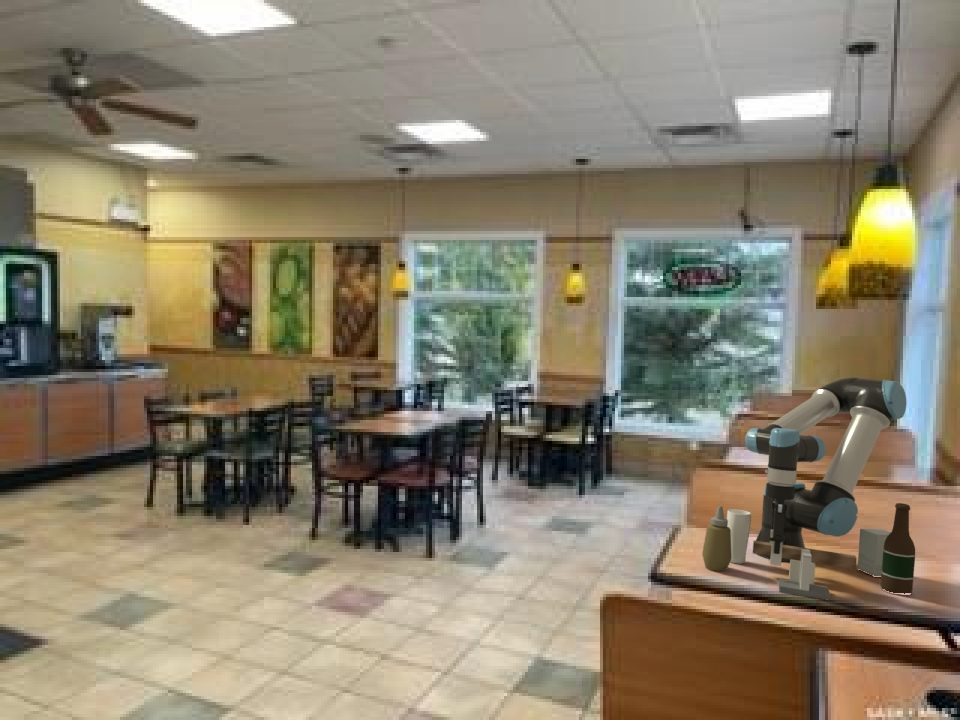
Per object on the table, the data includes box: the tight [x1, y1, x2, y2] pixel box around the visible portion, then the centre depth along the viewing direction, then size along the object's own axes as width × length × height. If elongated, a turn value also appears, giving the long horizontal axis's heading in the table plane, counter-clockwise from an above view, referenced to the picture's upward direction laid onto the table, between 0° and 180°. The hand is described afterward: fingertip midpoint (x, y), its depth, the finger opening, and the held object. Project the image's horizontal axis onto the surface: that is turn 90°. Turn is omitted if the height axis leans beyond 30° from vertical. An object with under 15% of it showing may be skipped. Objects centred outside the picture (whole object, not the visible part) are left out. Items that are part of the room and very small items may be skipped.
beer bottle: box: [880, 502, 916, 594], centre depth 194 cm, size 8×8×24 cm
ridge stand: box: [778, 548, 831, 601], centre depth 189 cm, size 12×7×11 cm, turn 69°
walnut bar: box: [752, 540, 858, 570], centre depth 198 cm, size 26×3×3 cm, turn 69°
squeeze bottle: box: [701, 505, 731, 572], centre depth 205 cm, size 8×8×18 cm
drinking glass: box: [726, 508, 752, 565], centre depth 213 cm, size 7×7×15 cm
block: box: [788, 559, 816, 584], centre depth 198 cm, size 6×5×6 cm
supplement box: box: [856, 528, 892, 576], centre depth 210 cm, size 7×7×13 cm
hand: (774, 558), depth 201 cm, fingers open, 13 cm apart
